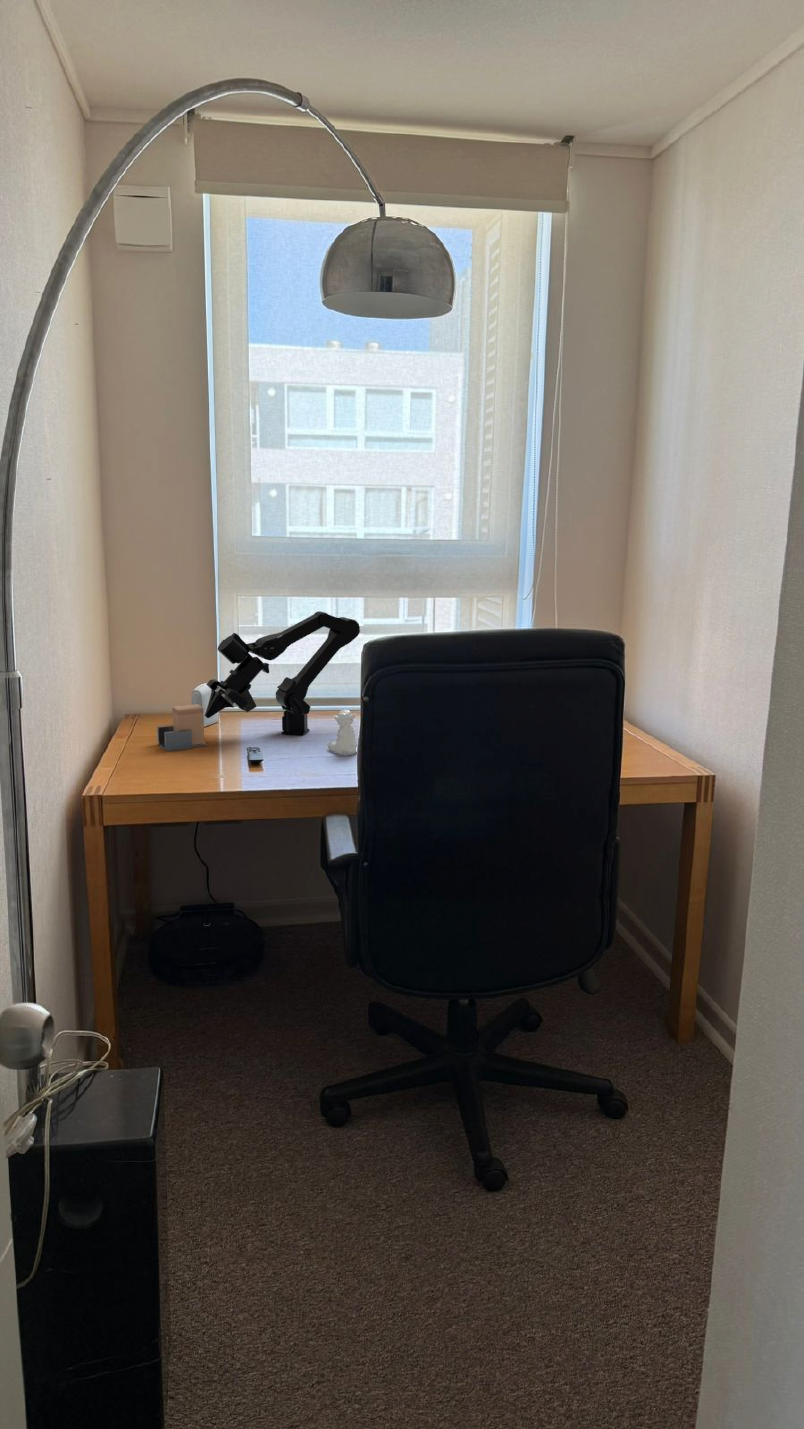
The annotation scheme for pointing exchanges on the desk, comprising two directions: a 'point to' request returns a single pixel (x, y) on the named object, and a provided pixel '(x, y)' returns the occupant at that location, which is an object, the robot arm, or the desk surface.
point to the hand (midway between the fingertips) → (206, 717)
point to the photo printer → (204, 702)
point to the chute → (175, 738)
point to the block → (190, 721)
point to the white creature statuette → (344, 735)
